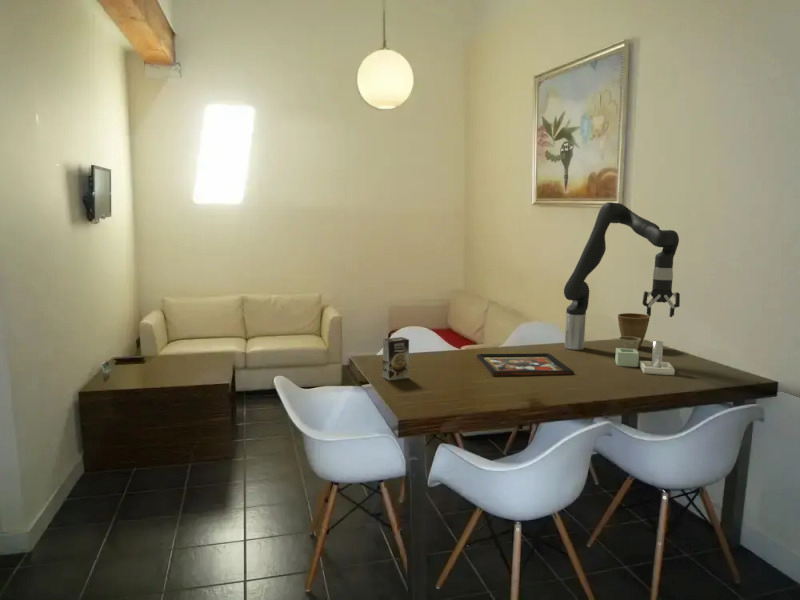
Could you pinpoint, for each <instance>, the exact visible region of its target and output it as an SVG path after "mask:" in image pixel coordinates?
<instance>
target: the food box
mask: <svg viewBox="0 0 800 600" xmlns="http://www.w3.org/2000/svg"><path fill="white" fill-rule="evenodd" d="M409 358H410V340H409V339H408V338H406V337H402V336H401V337H391V338H390V337H388V338H383V339H382V378H384V379H385V380H388V381H396V380H404V379H409V373H410V372H409V371H410V369H409V364H410V362H409V361H410V359H409Z"/></svg>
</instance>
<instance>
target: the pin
mask: <svg viewBox="0 0 800 600" xmlns="http://www.w3.org/2000/svg"><path fill="white" fill-rule="evenodd" d="M663 350H664V341H662V340H653V341H652V351H651V352H652V353H651V361H652V365H651V367H653V368H662V362H663V352H664V351H663Z"/></svg>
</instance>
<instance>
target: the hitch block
mask: <svg viewBox="0 0 800 600" xmlns="http://www.w3.org/2000/svg"><path fill="white" fill-rule="evenodd" d="M639 355H640V353H639V352H638V349H637V350H636V349H625V348H621V347H615V359H614V360H615V361H614V362H615V364H616V366H618V367H634V368H636V367H637V368H638V367H639V361H640V357H639Z"/></svg>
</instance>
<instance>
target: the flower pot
mask: <svg viewBox="0 0 800 600" xmlns="http://www.w3.org/2000/svg"><path fill="white" fill-rule="evenodd" d="M619 340H620V348H625V349H636V350H637V351H638V350H639V348H638V345H639V342H640V340H641V339H640V338H637V337H630V336H622V337H621V336H620V337H619Z"/></svg>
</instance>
